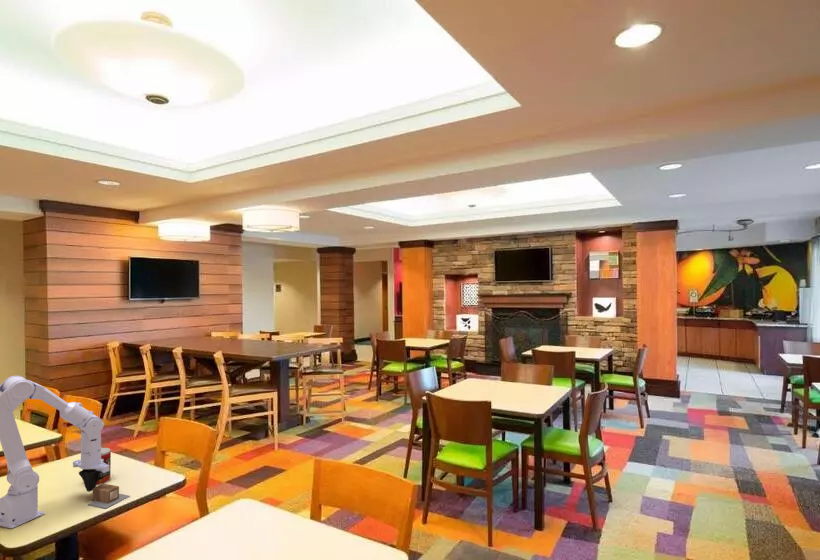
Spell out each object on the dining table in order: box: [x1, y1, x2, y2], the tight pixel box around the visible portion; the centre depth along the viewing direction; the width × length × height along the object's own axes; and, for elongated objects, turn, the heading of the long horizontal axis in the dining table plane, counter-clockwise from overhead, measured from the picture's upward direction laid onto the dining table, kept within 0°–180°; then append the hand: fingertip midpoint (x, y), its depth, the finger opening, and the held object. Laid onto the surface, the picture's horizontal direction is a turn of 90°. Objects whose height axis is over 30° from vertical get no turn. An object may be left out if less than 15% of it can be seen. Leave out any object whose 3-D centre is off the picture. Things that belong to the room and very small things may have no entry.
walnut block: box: [91, 483, 120, 503], centre depth 156 cm, size 4×4×7 cm
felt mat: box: [87, 493, 130, 510], centre depth 155 cm, size 9×8×1 cm
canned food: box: [96, 447, 112, 486], centre depth 170 cm, size 8×8×11 cm
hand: (91, 490), depth 158 cm, fingers closed
